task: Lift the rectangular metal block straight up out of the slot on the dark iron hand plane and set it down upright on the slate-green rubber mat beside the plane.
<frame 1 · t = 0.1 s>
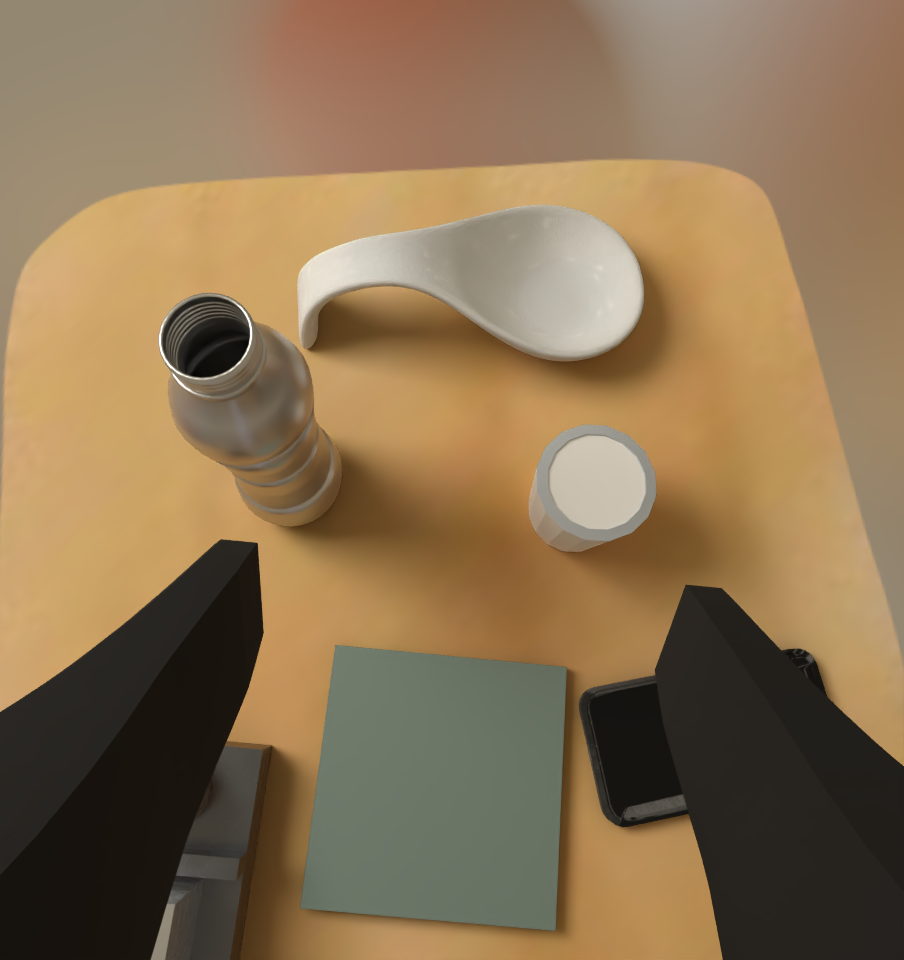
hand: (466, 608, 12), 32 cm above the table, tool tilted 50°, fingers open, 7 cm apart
hand plane: (168, 933, 38), on the table
grey and white cylinder: (570, 510, 46), on the table
phone: (705, 731, 43), on the table
rubber mat: (439, 779, 41), on the table
spoon rest: (468, 315, 50), on the table
silver metal bottle: (297, 483, 45), on the table
rectangular metal block: (151, 951, 35), point 2 cm above the table, touching hand plane
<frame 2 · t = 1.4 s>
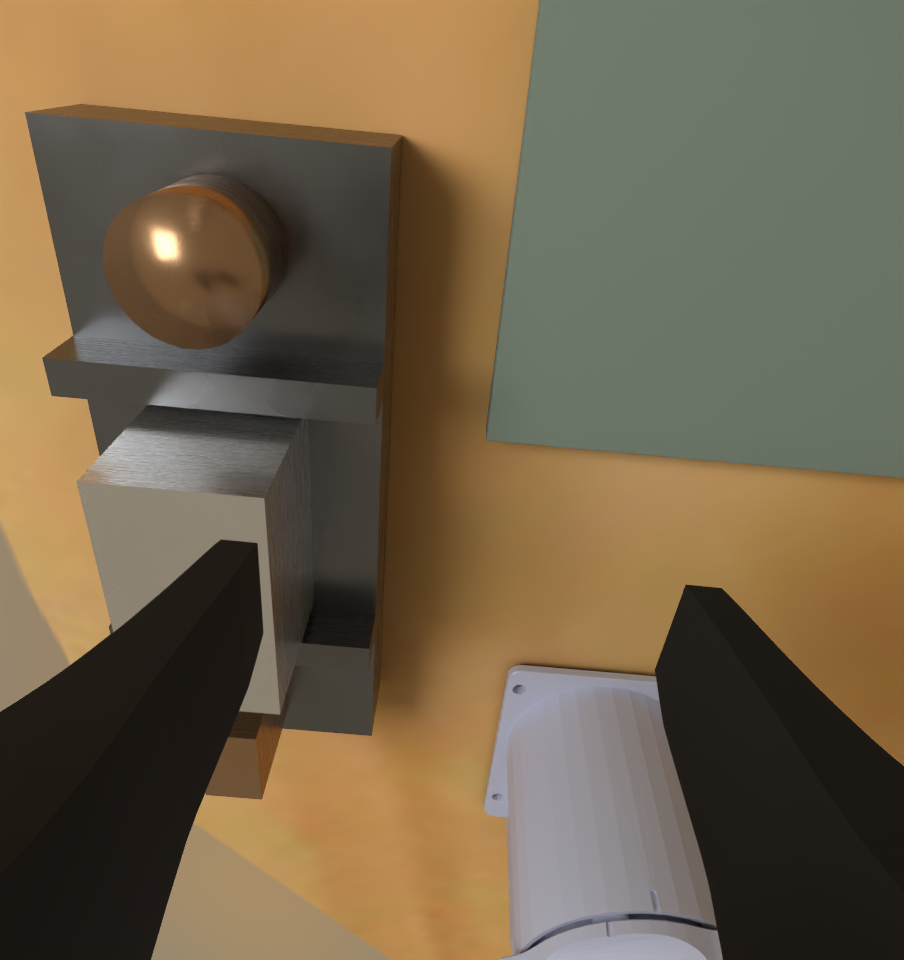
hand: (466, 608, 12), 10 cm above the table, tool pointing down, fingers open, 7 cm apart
hand plane: (265, 462, 23), on the table
rubber mat: (783, 214, 18), on the table
rectangular metal block: (243, 506, 20), point 2 cm above the table, touching hand plane
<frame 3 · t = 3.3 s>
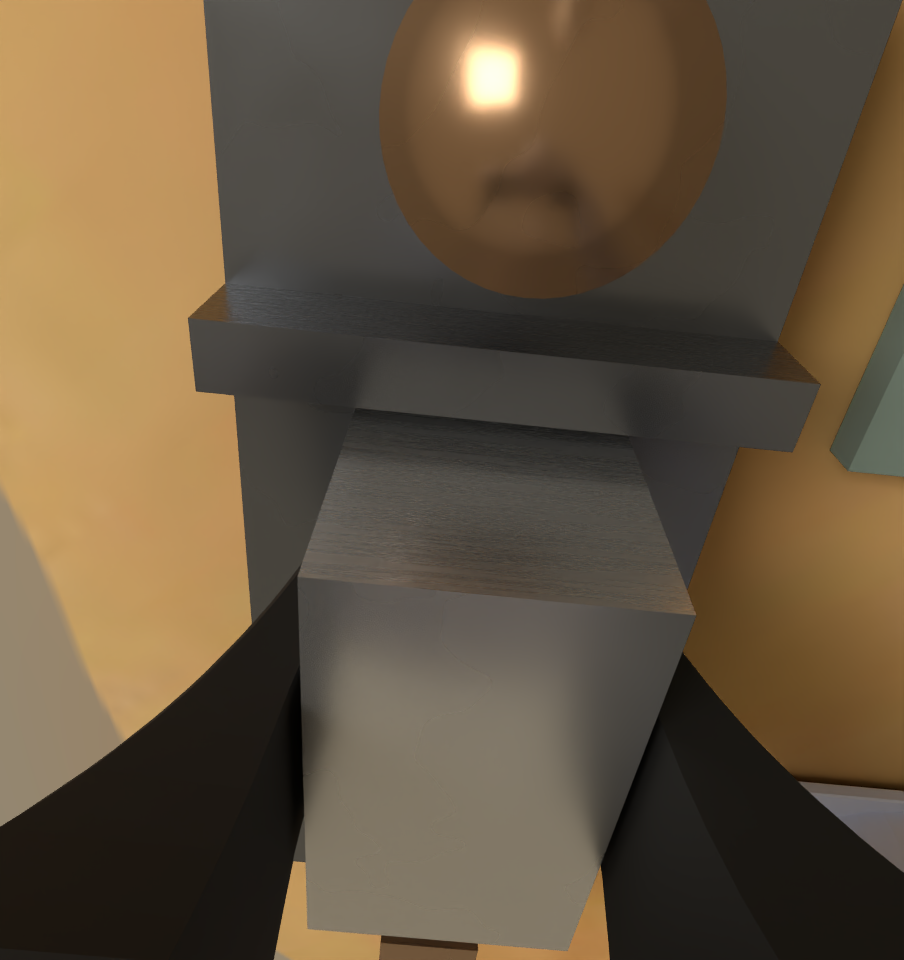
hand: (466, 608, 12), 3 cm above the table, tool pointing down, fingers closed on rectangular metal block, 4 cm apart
hand plane: (469, 498, 15), on the table
rectangular metal block: (467, 574, 13), point 2 cm above the table, touching gripper, hand plane
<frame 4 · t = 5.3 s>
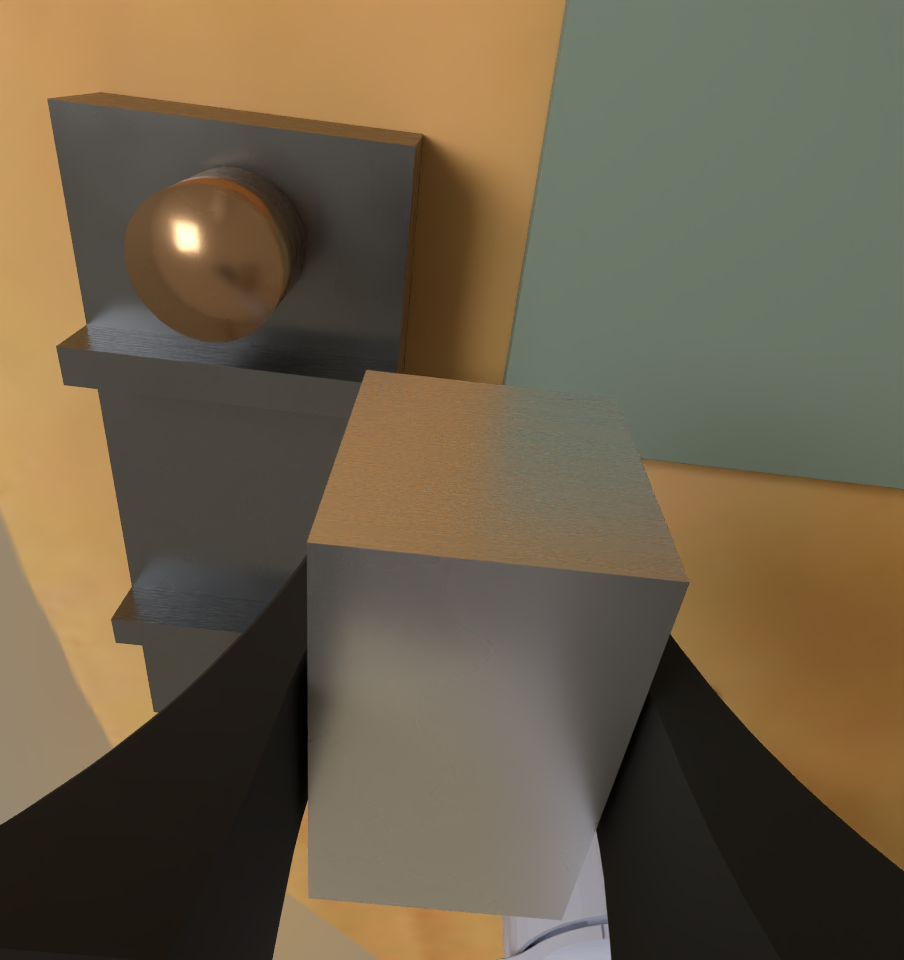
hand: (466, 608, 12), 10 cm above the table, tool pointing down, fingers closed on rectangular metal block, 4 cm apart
hand plane: (272, 458, 23), on the table
rubber mat: (798, 225, 18), on the table
rectangular metal block: (465, 556, 13), point 9 cm above the table, touching gripper
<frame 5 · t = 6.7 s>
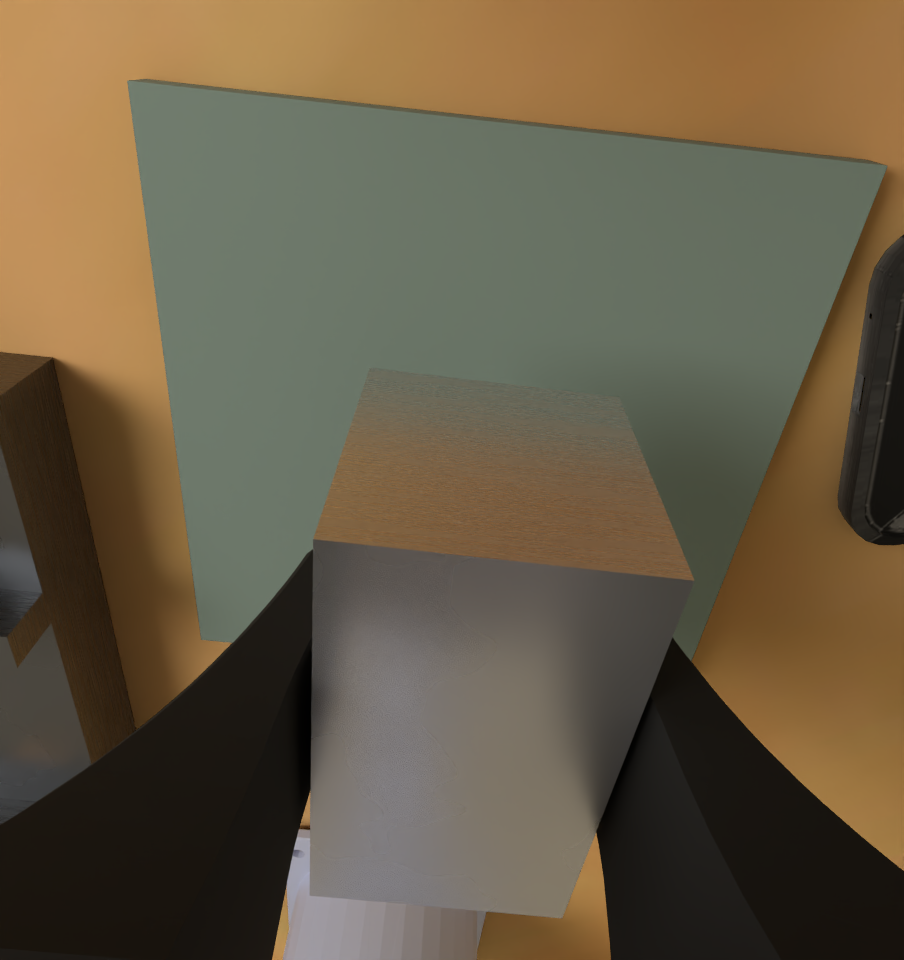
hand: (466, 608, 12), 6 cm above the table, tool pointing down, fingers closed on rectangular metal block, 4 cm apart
rubber mat: (470, 437, 17), on the table
rectangular metal block: (467, 555, 13), point 5 cm above the table, touching gripper
when the fingers open (3 cm above the table, at t = 7.7 s): rectangular metal block drops 1 cm, resting on rubber mat.
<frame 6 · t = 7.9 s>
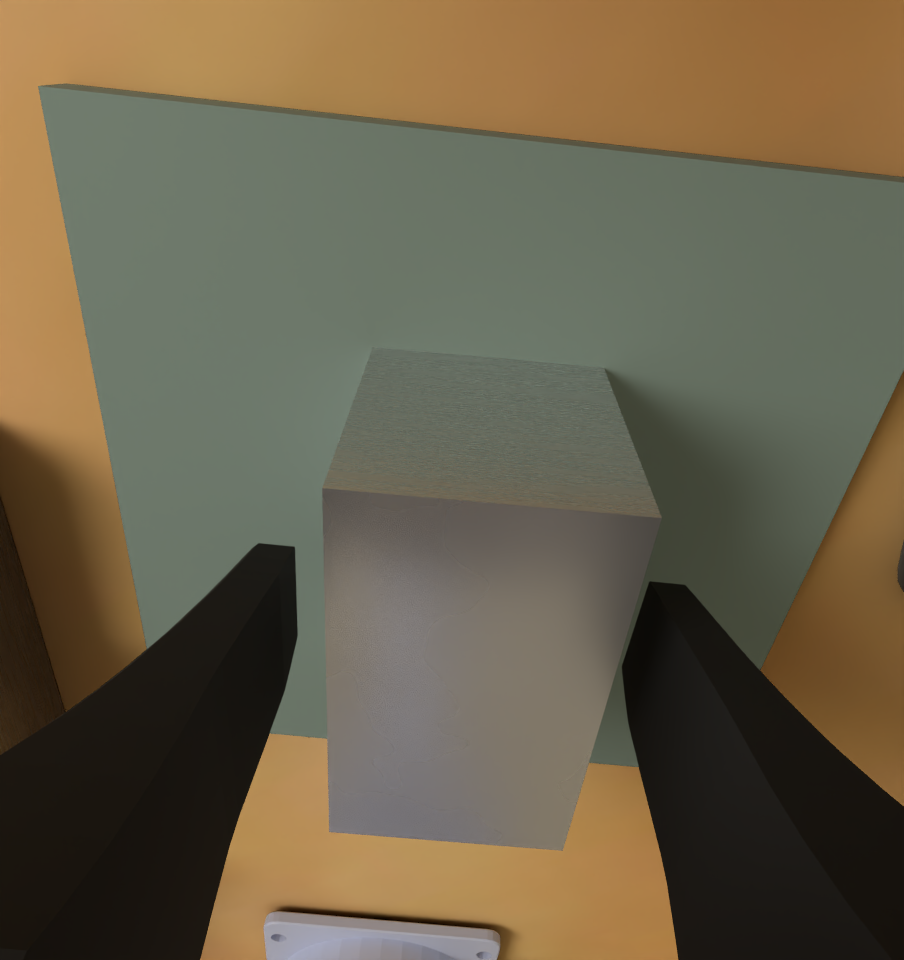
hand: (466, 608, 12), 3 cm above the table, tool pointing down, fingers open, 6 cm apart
rubber mat: (469, 503, 15), on the table
rectangular metal block: (469, 522, 14), point 1 cm above the table, touching rubber mat
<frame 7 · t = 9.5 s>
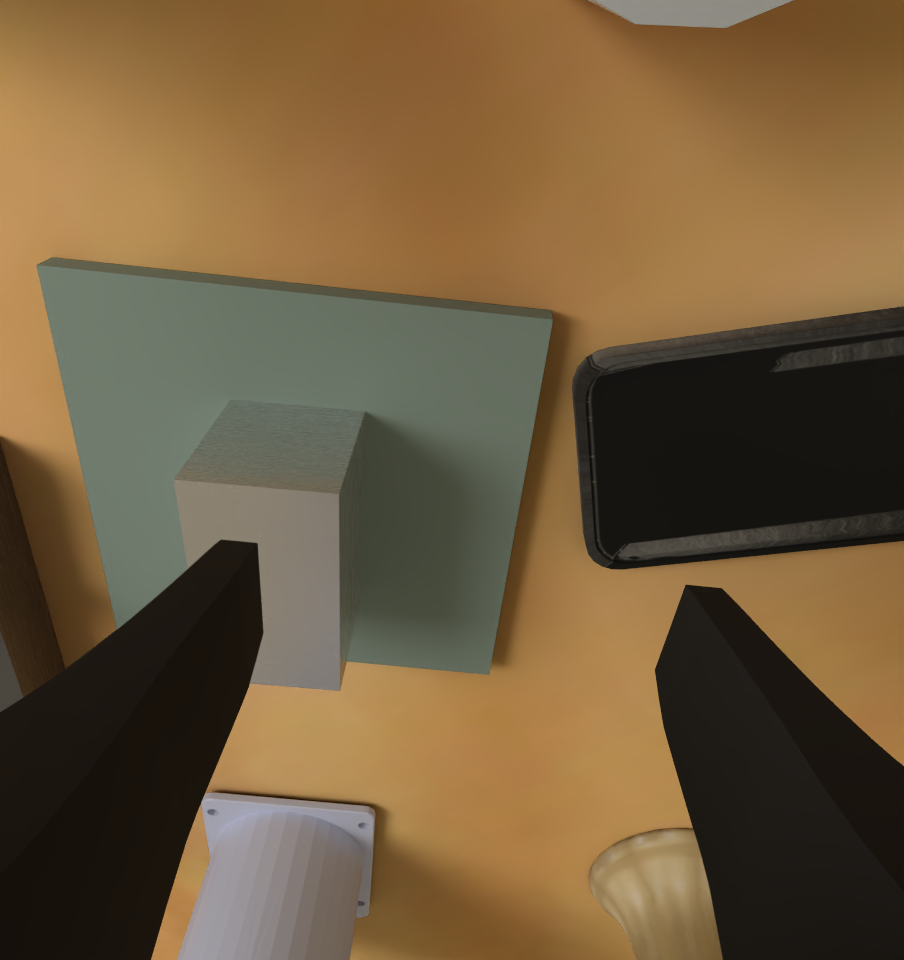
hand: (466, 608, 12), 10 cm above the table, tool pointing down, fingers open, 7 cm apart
phone: (814, 426, 22), on the table
rubber mat: (307, 491, 23), on the table
hand bell: (670, 870, 35), on the table
rectangular metal block: (301, 502, 22), point 1 cm above the table, touching rubber mat
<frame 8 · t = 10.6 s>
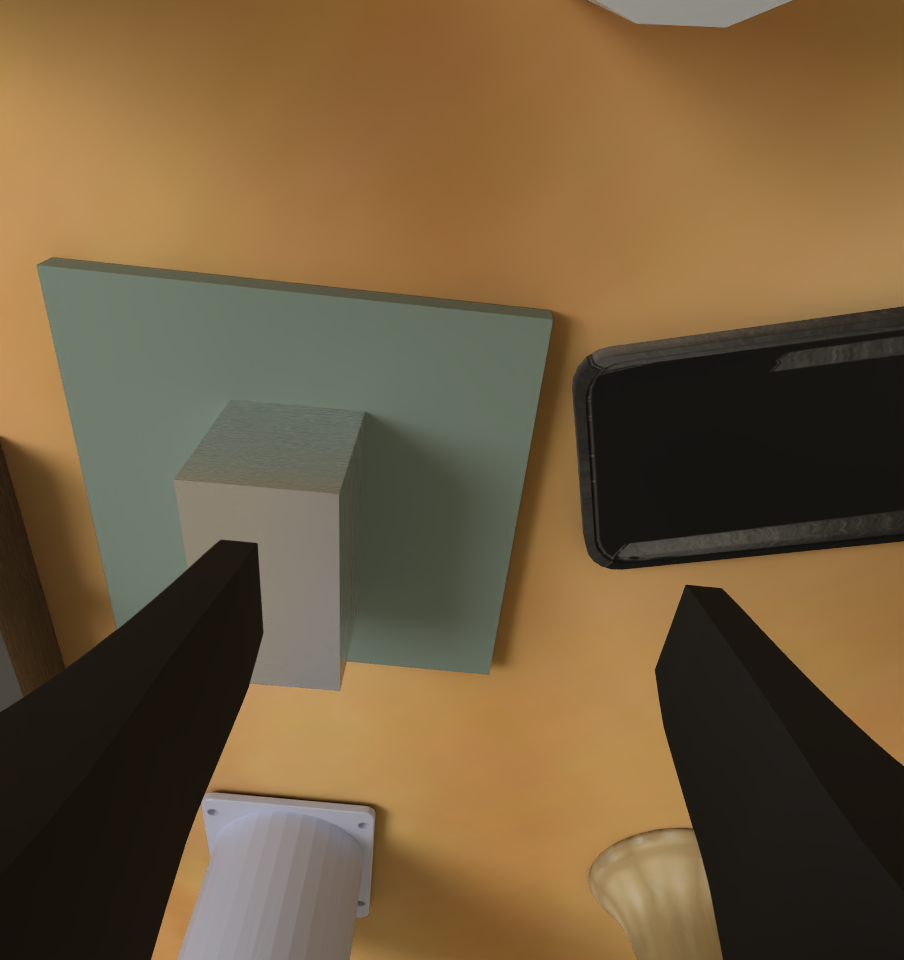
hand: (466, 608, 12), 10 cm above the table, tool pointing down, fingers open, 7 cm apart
phone: (814, 426, 22), on the table
rubber mat: (307, 491, 23), on the table
hand bell: (670, 870, 35), on the table
rectangular metal block: (301, 502, 22), point 1 cm above the table, touching rubber mat
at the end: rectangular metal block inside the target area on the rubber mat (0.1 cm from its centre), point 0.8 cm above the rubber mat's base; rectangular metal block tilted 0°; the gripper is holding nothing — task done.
